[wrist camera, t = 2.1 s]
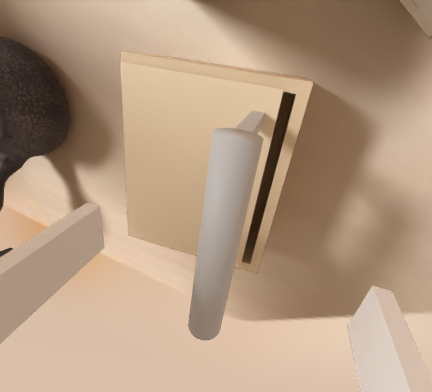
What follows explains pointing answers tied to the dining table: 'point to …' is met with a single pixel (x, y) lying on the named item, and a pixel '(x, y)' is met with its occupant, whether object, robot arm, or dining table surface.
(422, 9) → the small box
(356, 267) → the dining table surface
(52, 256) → the robot arm
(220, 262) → the flap
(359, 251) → the dining table surface
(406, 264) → the dining table surface
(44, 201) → the dining table surface
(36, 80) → the teapot
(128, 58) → the carton
